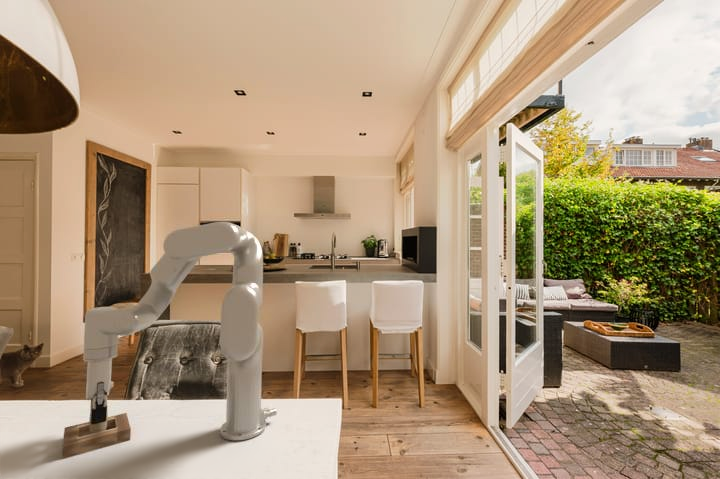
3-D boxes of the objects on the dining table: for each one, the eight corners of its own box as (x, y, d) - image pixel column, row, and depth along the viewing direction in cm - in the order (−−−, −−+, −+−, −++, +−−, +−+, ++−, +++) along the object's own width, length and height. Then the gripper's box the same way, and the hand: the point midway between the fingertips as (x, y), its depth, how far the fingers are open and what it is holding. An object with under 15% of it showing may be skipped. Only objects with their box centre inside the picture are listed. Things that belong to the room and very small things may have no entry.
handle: (98, 445, 89) (101, 388, 90) (79, 442, 90) (81, 385, 91) (115, 436, 94) (117, 381, 94) (96, 433, 95) (99, 379, 96)
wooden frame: (126, 423, 101) (126, 412, 101) (130, 439, 92) (130, 427, 92) (64, 438, 92) (64, 426, 93) (61, 459, 83) (62, 445, 83)
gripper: (83, 348, 98) (80, 409, 97) (83, 362, 84) (80, 433, 83) (115, 344, 102) (112, 402, 102) (120, 357, 89) (117, 424, 88)
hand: (98, 416), depth 92 cm, fingers open, 9 cm apart
